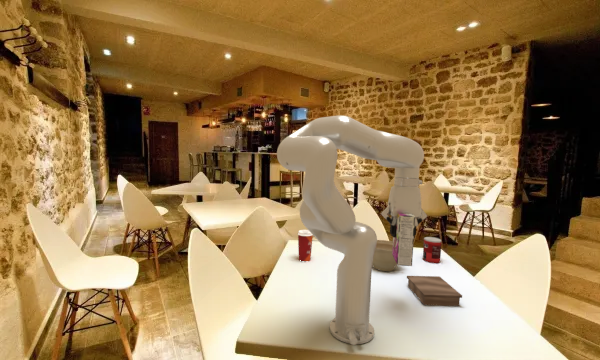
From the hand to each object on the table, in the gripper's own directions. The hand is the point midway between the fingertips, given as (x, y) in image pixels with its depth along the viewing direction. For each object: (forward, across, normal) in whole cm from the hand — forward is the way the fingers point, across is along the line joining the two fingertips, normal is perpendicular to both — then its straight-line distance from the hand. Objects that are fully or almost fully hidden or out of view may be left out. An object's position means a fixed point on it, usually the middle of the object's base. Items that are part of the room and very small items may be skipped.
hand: (402, 236), depth 99 cm
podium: (+24, -15, -8) cm, 29 cm away
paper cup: (+24, +31, -42) cm, 58 cm away
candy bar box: (+8, 0, 0) cm, 8 cm away
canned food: (+23, -32, -45) cm, 60 cm away
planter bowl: (+24, -5, -34) cm, 42 cm away
